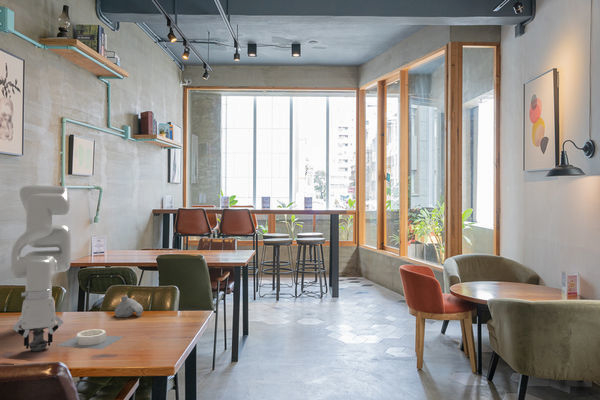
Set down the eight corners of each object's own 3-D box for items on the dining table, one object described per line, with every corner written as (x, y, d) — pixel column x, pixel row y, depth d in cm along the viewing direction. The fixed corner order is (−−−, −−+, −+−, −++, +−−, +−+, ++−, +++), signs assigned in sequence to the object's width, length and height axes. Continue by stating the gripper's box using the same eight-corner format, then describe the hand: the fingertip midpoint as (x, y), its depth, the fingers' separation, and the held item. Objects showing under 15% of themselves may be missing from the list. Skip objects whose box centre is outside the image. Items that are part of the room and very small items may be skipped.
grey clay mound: (118, 325, 197) (111, 303, 196) (116, 318, 208) (109, 298, 207) (145, 315, 202) (138, 293, 201) (142, 309, 213) (136, 288, 212)
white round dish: (71, 344, 160) (71, 336, 160) (88, 336, 169) (88, 328, 169) (94, 346, 159) (94, 337, 159) (110, 338, 168) (110, 330, 168)
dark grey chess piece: (33, 350, 157) (34, 316, 157) (51, 350, 157) (51, 316, 157) (24, 356, 151) (25, 321, 151) (42, 356, 151) (43, 321, 151)
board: (56, 348, 159) (56, 345, 159) (82, 336, 172) (82, 333, 172) (101, 352, 156) (101, 349, 156) (124, 340, 169) (124, 336, 169)
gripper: (8, 299, 147) (8, 353, 147) (67, 294, 155) (66, 345, 155) (10, 295, 153) (9, 346, 153) (66, 290, 162) (65, 339, 162)
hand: (38, 345), depth 154 cm, fingers closed on dark grey chess piece, 5 cm apart
